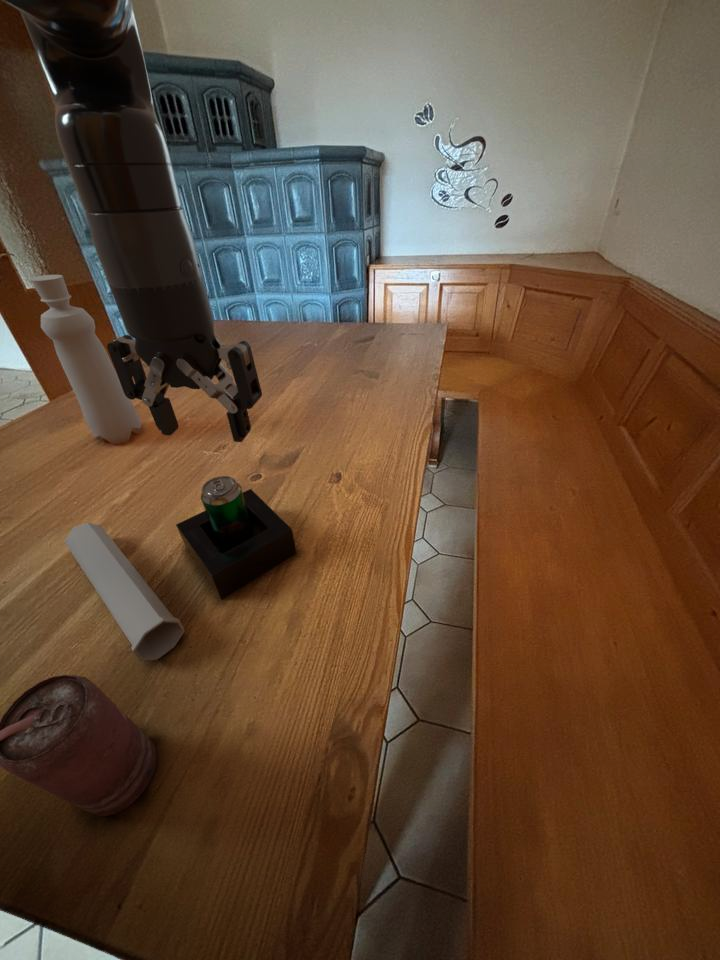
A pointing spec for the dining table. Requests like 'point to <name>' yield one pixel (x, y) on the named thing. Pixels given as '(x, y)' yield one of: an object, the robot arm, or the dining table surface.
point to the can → (76, 745)
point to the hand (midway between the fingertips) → (205, 435)
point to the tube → (124, 592)
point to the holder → (239, 547)
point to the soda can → (226, 512)
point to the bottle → (86, 364)
